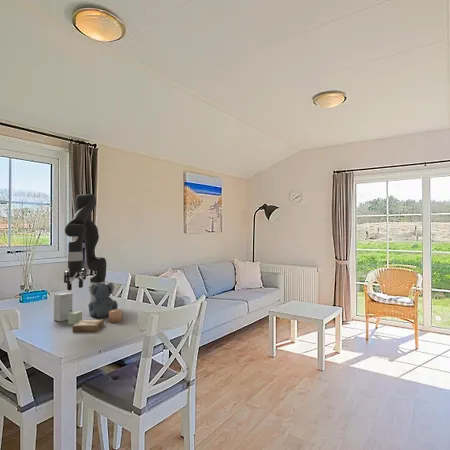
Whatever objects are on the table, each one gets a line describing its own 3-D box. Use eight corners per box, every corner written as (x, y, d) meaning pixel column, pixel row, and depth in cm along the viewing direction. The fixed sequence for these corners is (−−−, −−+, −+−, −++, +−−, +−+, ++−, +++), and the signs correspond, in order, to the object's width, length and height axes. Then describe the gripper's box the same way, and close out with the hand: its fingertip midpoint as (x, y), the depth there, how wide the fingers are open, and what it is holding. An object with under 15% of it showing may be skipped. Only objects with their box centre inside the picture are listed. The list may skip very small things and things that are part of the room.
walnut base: (81, 325, 185) (81, 319, 185) (103, 324, 186) (103, 319, 186) (72, 332, 173) (72, 325, 173) (96, 331, 174) (96, 325, 174)
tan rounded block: (113, 319, 197) (114, 308, 198) (124, 320, 195) (124, 309, 195) (106, 322, 191) (106, 311, 191) (117, 323, 189) (117, 312, 189)
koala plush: (117, 310, 219) (117, 279, 219) (118, 317, 202) (118, 284, 202) (88, 312, 213) (88, 281, 213) (86, 319, 196) (86, 285, 196)
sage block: (74, 321, 192) (74, 310, 192) (82, 322, 191) (82, 311, 191) (68, 323, 188) (68, 313, 188) (75, 324, 186) (75, 313, 186)
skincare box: (59, 321, 192) (59, 295, 192) (53, 320, 195) (53, 294, 195) (73, 318, 199) (73, 292, 199) (66, 317, 202) (66, 291, 202)
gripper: (78, 258, 197) (78, 286, 197) (60, 260, 184) (59, 290, 184) (89, 258, 195) (89, 287, 195) (71, 261, 182) (71, 291, 181)
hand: (75, 289), depth 189 cm, fingers open, 8 cm apart
